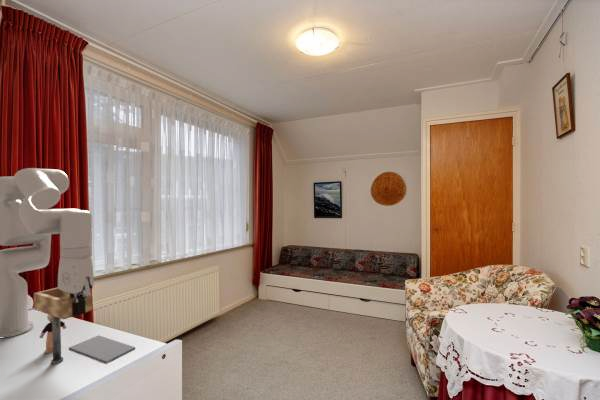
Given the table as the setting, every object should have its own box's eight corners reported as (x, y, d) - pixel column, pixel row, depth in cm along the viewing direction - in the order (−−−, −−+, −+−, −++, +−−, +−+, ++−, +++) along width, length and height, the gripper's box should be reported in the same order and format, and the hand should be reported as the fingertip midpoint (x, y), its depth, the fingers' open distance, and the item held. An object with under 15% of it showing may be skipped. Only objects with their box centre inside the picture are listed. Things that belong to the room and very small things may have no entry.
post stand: (48, 362, 94) (47, 310, 93) (59, 357, 97) (58, 307, 96) (54, 365, 93) (53, 312, 92) (65, 360, 95) (64, 308, 95)
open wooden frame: (34, 309, 93) (33, 293, 92) (62, 301, 99) (62, 286, 99) (63, 319, 86) (63, 302, 86) (91, 310, 93) (91, 293, 92)
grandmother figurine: (47, 355, 98) (46, 316, 98) (38, 353, 99) (37, 315, 99) (69, 343, 106) (69, 307, 105) (60, 342, 106) (60, 306, 106)
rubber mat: (69, 348, 102) (69, 347, 102) (98, 336, 111) (98, 335, 111) (106, 363, 94) (106, 361, 94) (135, 348, 102) (135, 347, 102)
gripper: (47, 252, 89) (47, 313, 89) (78, 257, 82) (78, 324, 83) (75, 247, 96) (75, 305, 96) (105, 252, 89) (106, 314, 90)
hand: (77, 313), depth 89 cm, fingers closed on open wooden frame, 1 cm apart
